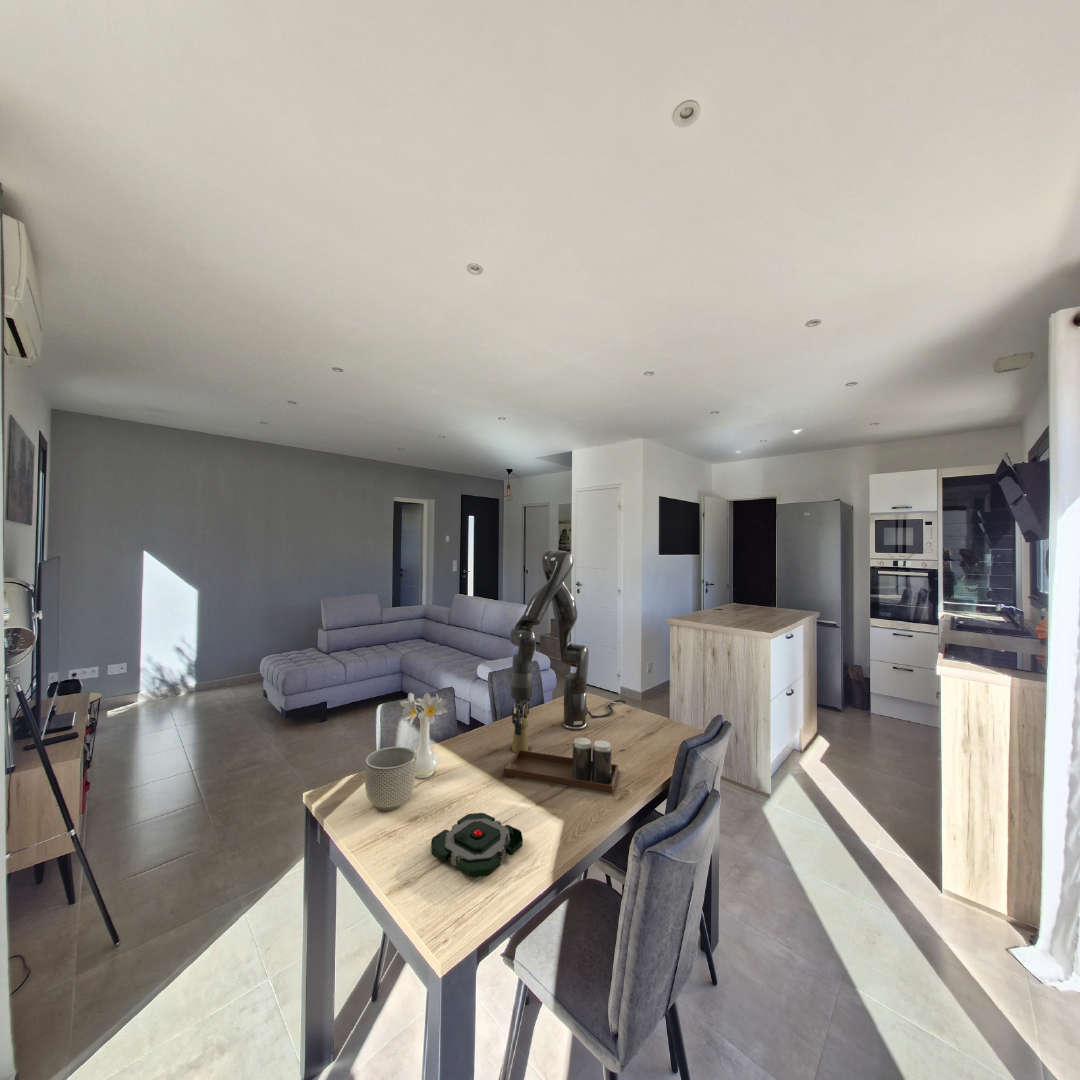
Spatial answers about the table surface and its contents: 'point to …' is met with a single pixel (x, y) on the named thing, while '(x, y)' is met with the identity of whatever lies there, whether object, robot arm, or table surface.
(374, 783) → the planter
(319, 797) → the table surface
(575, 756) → the cylinder
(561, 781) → the tray
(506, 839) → the flat green button pad
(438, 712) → the flower vase
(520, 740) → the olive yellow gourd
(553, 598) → the robot arm
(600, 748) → the black shaker
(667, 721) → the table surface
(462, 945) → the table surface
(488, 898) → the table surface
